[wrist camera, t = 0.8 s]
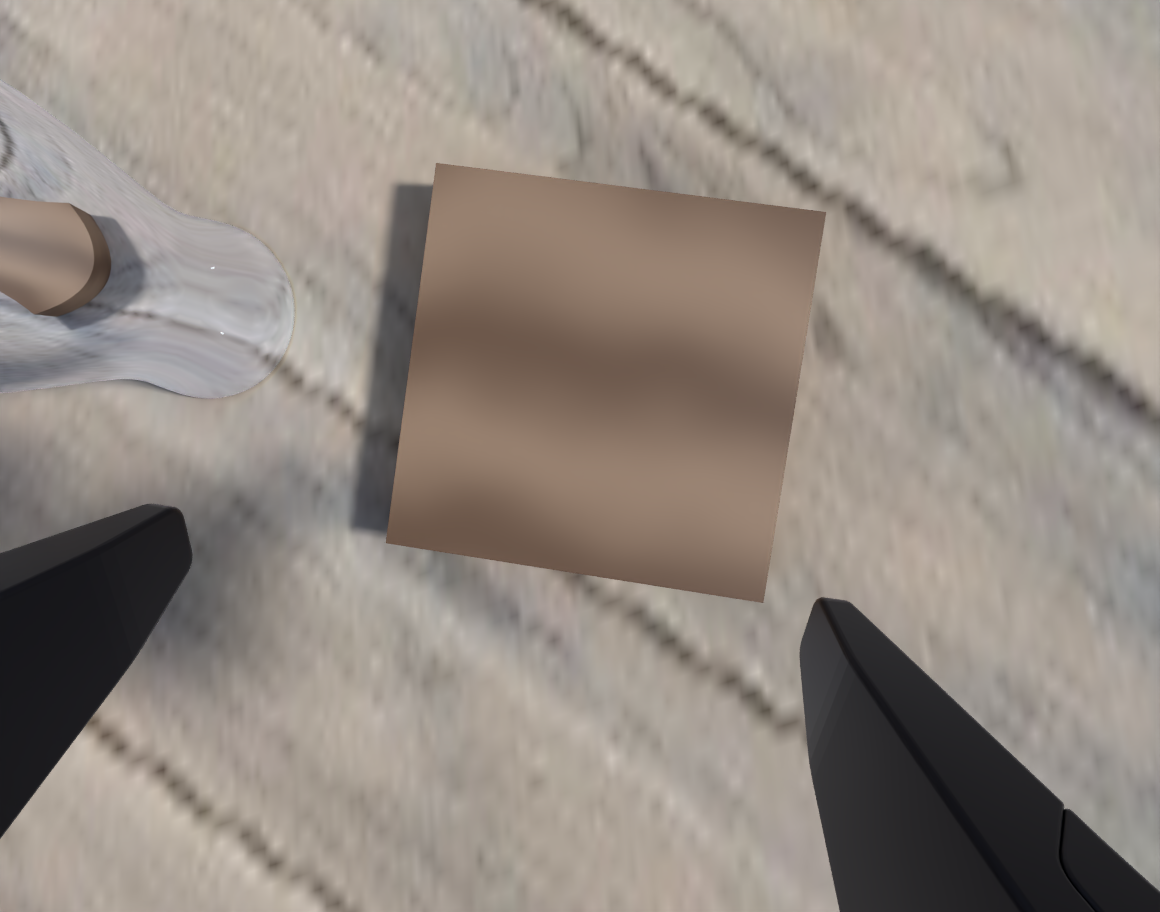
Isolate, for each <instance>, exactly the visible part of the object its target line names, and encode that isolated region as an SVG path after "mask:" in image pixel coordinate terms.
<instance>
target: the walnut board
mask: <svg viewBox="0 0 1160 912" xmlns="http://www.w3.org/2000/svg"><path fill="white" fill-rule="evenodd" d="M825 216H826V212H821V211H813V210H805V209H797V208H789V207H781V206H773V205H765V204H757V203H749V202H741V201H733V200H725V199H718V198H710V197H702V196H694V195H686V194H678V193H670V192H662V191H654V190H646V189H638V188H630V187H622V186H614V185H606V184H599V183H591V182H583V181H575V180H567V179H559V178H551V177H543V176H535V175H527V174H519V173H511V172H503V171H495V170H487V169H480V168H472V167H464V166H456V165H448V164H440V163H436V168H435V176H434V183H433V191H432V198H431V206H430V214H429V221H428V229H427V236H426V244H425V251H424V259H423V266H422V274H421V281H420V289H419V296H418V304H417V311H416V319H415V327H414V334H413V342H412V349H411V357H410V364H409V372H408V379H407V387H406V394H405V402H404V409H403V417H402V424H401V432H400V439H399V447H398V455H397V462H396V470H395V477H394V485H393V492H392V500H391V507H390V515H389V522H388V530H387V537H386V543H389V544H395V545H401V546H408V547H414V548H420V549H427V550H433V551H439V552H445V553H452V554H458V555H464V556H471V557H477V558H483V559H490V560H496V561H502V562H509V563H515V564H521V565H527V566H534V567H540V568H546V569H553V570H559V571H565V572H572V573H578V574H584V575H591V576H597V577H603V578H610V579H616V580H622V581H628V582H635V583H641V584H647V585H654V586H660V587H666V588H673V589H679V590H685V591H692V592H698V593H704V594H711V595H717V596H723V597H729V598H736V599H742V600H748V601H755V602H761V603H763V601H764V595H765V589H766V582H767V576H768V570H769V564H770V557H771V551H772V545H773V539H774V533H775V526H776V520H777V514H778V508H779V502H780V495H781V489H782V483H783V477H784V471H785V464H786V458H787V452H788V446H789V439H790V433H791V427H792V421H793V415H794V408H795V402H796V396H797V390H798V384H799V377H800V371H801V365H802V359H803V353H804V346H805V340H806V334H807V328H808V322H809V315H810V309H811V303H812V297H813V290H814V284H815V278H816V272H817V266H818V259H819V253H820V247H821V241H822V235H823V228H824V222H825Z"/></svg>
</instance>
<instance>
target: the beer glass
mask: <svg viewBox="0 0 1160 912" xmlns="http://www.w3.org/2000/svg"><path fill="white" fill-rule="evenodd" d="M294 315H295V308H294V298H293V293H292V289H291V285H290V282H289V279H288V277H287V275H286V273H285V271H284V269H283V267H282V265H281V264H280V262H279V261H278V259H277V258H276V257H275V255H274V254H273V253H272V252H271V251H270V250H269V249H268V248H267V247H266V246H265V245H264V244H263V243H262V242H261V241H260V240H259V239H257V238H256V237H254V236H253V235H251V234H250V233H248V232H246V231H244V230H242V229H240V228H238V227H235V226H233V225H230V224H227V223H223V222H219V221H215V220H210V219H206V218H201V217H196V216H191V215H187V214H184V213H182V212H179V211H177V210H175V209H173V208H172V207H170V206H168V205H167V204H165V203H163V202H162V201H161V200H159V199H158V198H157V197H156V196H154V195H153V194H152V193H150V192H149V191H148V190H146V189H145V188H144V187H143V186H141V185H140V184H139V183H138V182H137V181H135V180H134V179H133V178H132V177H131V176H129V175H128V174H127V173H126V172H125V171H123V170H122V169H121V168H120V167H118V166H117V165H116V164H115V163H114V162H112V161H111V160H110V159H109V158H107V157H106V156H105V155H104V154H102V153H101V152H100V151H99V150H97V149H96V148H95V147H94V146H92V145H91V144H90V143H89V142H88V141H86V140H85V139H84V138H83V137H81V136H80V135H79V134H78V133H76V132H75V131H74V130H72V129H71V128H70V127H68V126H67V125H66V124H64V123H63V122H61V121H60V120H59V119H57V118H56V117H55V116H53V115H52V114H50V113H49V112H48V111H46V110H45V109H44V108H42V107H41V106H39V105H38V104H37V103H35V102H34V101H32V100H31V99H30V98H28V97H27V96H26V95H24V94H23V93H21V92H20V91H18V90H17V89H16V88H14V87H12V86H11V85H9V84H8V83H6V82H4V81H3V80H1V79H0V393H10V392H19V391H27V390H35V389H44V388H52V387H60V386H67V385H74V384H82V383H89V382H96V381H106V380H116V379H134V380H141V381H145V382H149V383H151V384H154V385H157V386H159V387H162V388H165V389H167V390H170V391H173V392H176V393H179V394H183V395H186V396H191V397H197V398H207V399H213V398H223V397H228V396H232V395H235V394H239V393H241V392H244V391H246V390H248V389H250V388H252V387H253V386H255V385H257V384H258V383H260V382H261V381H262V380H263V379H265V378H266V377H267V376H268V375H269V374H270V373H271V372H272V371H273V370H274V368H275V367H276V366H277V365H278V363H279V362H280V360H281V359H282V357H283V355H284V353H285V351H286V349H287V347H288V345H289V342H290V339H291V335H292V331H293V326H294Z"/></svg>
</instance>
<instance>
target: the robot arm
mask: <svg viewBox="0 0 1160 912" xmlns="http://www.w3.org/2000/svg"><path fill="white" fill-rule="evenodd" d="M191 563H192V550H191V545H190V541H189V537H188V533H187V528H186V524H185V520H184V516H183V514H182V512H181V511H180V510H179V509H178V508H176V507H172V506H165V505H158V504H146V505H142V506H139V507H136V508H133V509H130V510H127V511H124V512H121V513H119V514H116V515H113V516H110V517H107V518H104V519H101V520H98V521H95V522H92V523H89V524H86V525H83V526H80V527H77V528H74V529H71V530H68V531H65V532H62V533H59V534H57V535H54V536H51V537H48V538H45V539H42V540H39V541H36V542H33V543H30V544H27V545H24V546H21V547H18V548H15V549H12V550H9V551H6V552H3V553H0V839H1V837H2V836H3V835H4V833H5V832H6V831H7V829H8V828H9V827H10V825H11V824H12V823H13V821H14V820H15V819H16V817H17V816H18V815H19V813H20V812H21V811H22V809H23V808H24V807H25V805H26V804H27V803H28V801H29V800H30V799H31V797H32V796H33V795H34V793H35V792H36V791H37V789H38V788H39V787H40V785H41V784H42V783H43V781H44V780H45V779H46V777H47V776H48V775H49V773H50V772H51V771H52V769H53V768H54V767H55V765H56V764H57V763H58V761H59V760H60V759H61V757H62V756H63V755H64V753H65V752H66V751H67V749H68V748H69V747H70V745H71V744H72V743H73V741H74V740H75V739H76V737H77V736H78V735H79V733H80V732H81V731H82V729H83V728H84V727H85V725H86V724H87V723H88V721H89V720H90V719H91V717H92V716H93V715H94V713H95V712H96V711H97V710H98V708H99V707H100V706H101V704H102V703H103V702H104V700H105V699H106V698H107V696H108V695H109V694H110V692H111V691H112V690H113V688H114V687H115V686H116V684H117V683H118V682H119V680H120V679H121V678H122V676H123V675H124V673H125V672H126V671H127V669H128V668H129V666H130V665H131V664H132V662H133V661H134V659H135V658H136V656H137V655H138V653H139V652H140V650H141V649H142V647H143V645H144V644H145V642H146V641H147V639H148V637H149V636H150V634H151V632H152V631H153V629H154V627H155V626H156V624H157V622H158V621H159V619H160V617H161V616H162V614H163V613H164V611H165V609H166V608H167V606H168V604H169V603H170V601H171V599H172V598H173V596H174V594H175V593H176V591H177V589H178V588H179V586H180V585H181V583H182V581H183V580H184V578H185V576H186V575H187V573H188V571H189V569H190V566H191ZM800 668H801V680H802V691H803V702H804V713H805V724H806V735H807V746H808V755H809V764H810V769H811V775H812V780H813V785H814V790H815V795H816V800H817V805H818V809H819V814H820V819H821V824H822V828H823V833H824V838H825V843H826V848H827V852H828V857H829V862H830V867H831V872H832V876H833V881H834V886H835V891H836V895H837V900H838V905H839V910H840V912H1160V891H1159V890H1158V889H1156V888H1155V887H1154V886H1153V885H1152V884H1151V883H1149V882H1148V881H1147V880H1146V879H1145V878H1144V877H1143V876H1142V875H1141V874H1140V873H1138V872H1137V871H1136V870H1135V869H1134V868H1133V867H1132V866H1131V865H1130V864H1129V863H1128V862H1126V861H1125V860H1124V859H1123V858H1122V857H1121V856H1120V855H1119V854H1118V853H1117V852H1115V851H1114V850H1113V849H1112V848H1111V847H1110V846H1109V845H1108V844H1107V843H1106V842H1105V841H1103V840H1102V839H1101V838H1100V837H1099V836H1098V835H1097V834H1096V833H1095V832H1094V831H1093V830H1092V829H1091V828H1090V827H1089V826H1087V825H1086V824H1085V823H1084V822H1083V821H1082V820H1081V819H1080V818H1079V817H1078V816H1077V815H1076V814H1075V813H1074V812H1073V811H1071V810H1070V809H1064V804H1063V802H1062V801H1061V800H1060V799H1059V798H1057V797H1056V796H1055V795H1054V794H1053V793H1052V792H1051V791H1050V790H1049V789H1048V788H1047V787H1046V786H1045V785H1044V784H1043V783H1042V782H1040V781H1039V780H1038V779H1037V778H1036V777H1035V776H1034V775H1033V774H1032V773H1031V772H1030V771H1029V770H1028V769H1027V768H1026V767H1025V766H1024V765H1022V764H1021V763H1020V762H1019V761H1018V760H1017V759H1016V758H1015V757H1014V756H1013V755H1012V754H1011V753H1010V752H1009V751H1008V750H1007V749H1005V748H1004V747H1003V746H1002V745H1001V744H1000V743H999V742H998V741H997V740H996V739H995V738H994V737H993V736H992V735H991V734H990V733H989V732H987V731H986V730H985V729H984V728H983V727H982V726H981V725H980V724H979V723H978V722H977V721H976V720H975V719H974V718H973V717H972V716H971V715H969V714H968V713H967V712H966V711H965V710H964V709H963V708H962V707H961V706H960V705H959V704H958V703H957V702H956V701H955V700H954V699H952V698H951V697H950V696H949V695H948V694H947V693H946V692H945V691H944V690H943V689H942V688H941V687H940V686H939V685H938V684H937V683H936V682H934V681H933V680H932V679H931V678H930V677H929V676H928V675H927V674H926V673H925V672H924V671H923V670H922V669H921V668H920V667H919V666H917V665H916V664H915V663H914V662H913V661H912V660H911V659H910V658H909V657H908V656H907V655H906V654H905V653H904V652H903V651H902V650H901V649H899V648H898V647H897V646H896V645H895V644H894V643H893V642H892V641H891V640H890V639H889V638H888V637H887V636H886V635H885V634H884V633H883V632H881V631H880V630H879V629H878V628H877V627H876V626H875V625H874V624H873V623H872V622H871V621H870V620H869V619H868V618H867V617H866V616H864V615H863V614H862V613H861V612H860V611H859V610H858V609H857V608H856V607H855V606H854V605H853V604H851V603H850V602H848V601H845V600H839V599H832V598H824V597H821V598H819V599H817V600H816V602H815V603H814V605H813V608H812V611H811V614H810V617H809V620H808V623H807V626H806V629H805V632H804V635H803V638H802V641H801V645H800Z"/></svg>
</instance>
